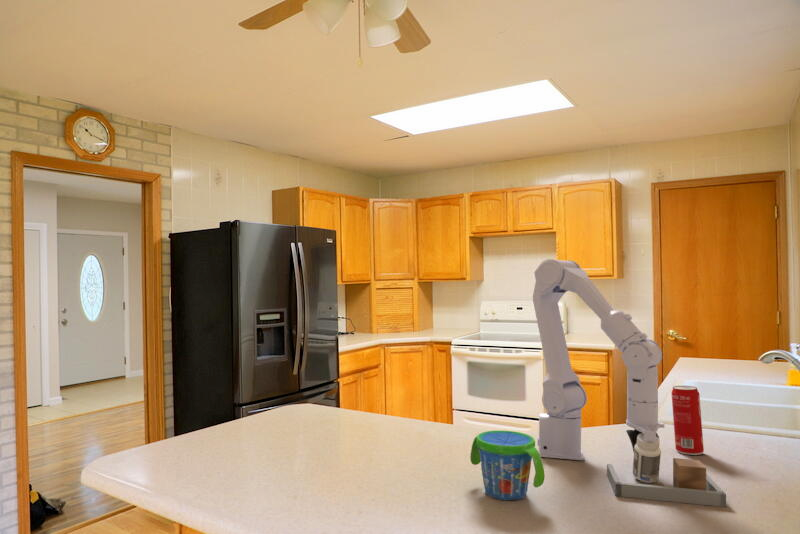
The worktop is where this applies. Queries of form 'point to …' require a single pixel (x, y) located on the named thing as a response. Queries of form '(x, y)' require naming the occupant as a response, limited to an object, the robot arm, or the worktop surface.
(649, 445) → the pill bottle
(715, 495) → the corral
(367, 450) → the worktop surface
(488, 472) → the snack cup
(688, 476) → the walnut block
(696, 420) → the beverage can
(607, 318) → the robot arm
